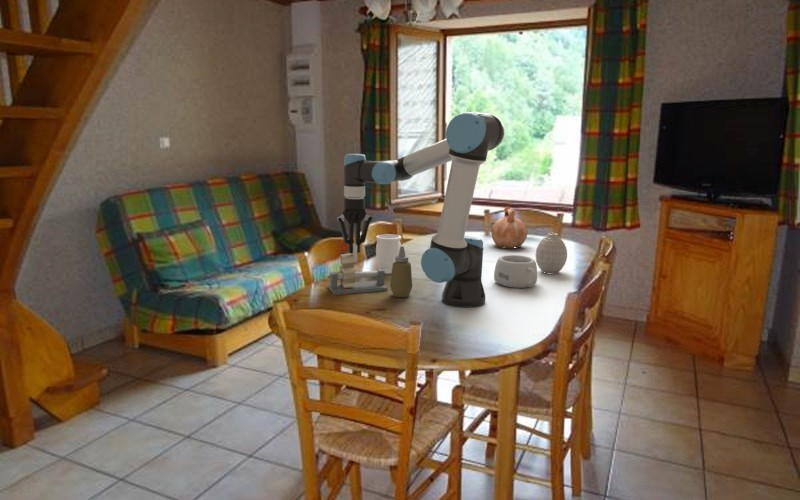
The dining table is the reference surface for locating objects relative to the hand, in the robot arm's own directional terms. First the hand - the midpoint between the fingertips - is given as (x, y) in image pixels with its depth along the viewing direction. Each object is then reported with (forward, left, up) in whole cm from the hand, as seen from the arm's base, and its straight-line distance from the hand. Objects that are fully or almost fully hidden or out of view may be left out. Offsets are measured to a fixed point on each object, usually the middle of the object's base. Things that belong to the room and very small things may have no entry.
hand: (354, 261), depth 207 cm
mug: (-11, -63, -11) cm, 65 cm away
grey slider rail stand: (0, -1, -11) cm, 11 cm away
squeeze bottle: (-12, -14, -11) cm, 22 cm away
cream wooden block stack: (0, +3, -9) cm, 9 cm away
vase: (+2, -86, -11) cm, 87 cm away
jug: (+52, -95, -11) cm, 109 cm away
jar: (+21, -20, -11) cm, 31 cm away
